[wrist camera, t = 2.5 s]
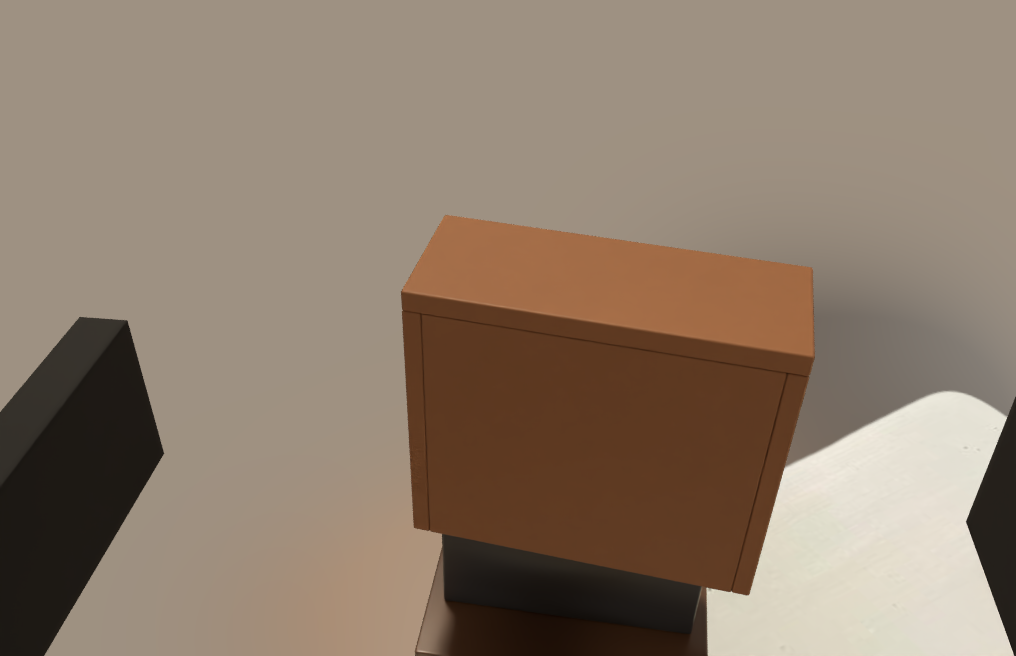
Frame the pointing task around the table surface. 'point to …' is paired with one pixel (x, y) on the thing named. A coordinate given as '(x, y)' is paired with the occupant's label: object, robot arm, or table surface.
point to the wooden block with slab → (554, 607)
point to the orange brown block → (603, 397)
